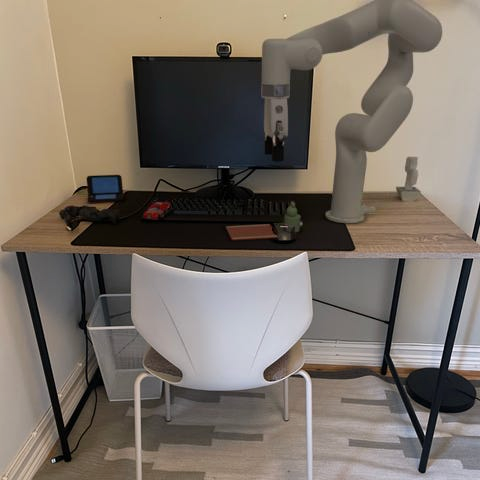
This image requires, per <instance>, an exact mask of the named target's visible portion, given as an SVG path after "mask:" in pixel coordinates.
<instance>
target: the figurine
mask: <svg viewBox="0 0 480 480" xmlns="http://www.w3.org/2000/svg"><path fill="white" fill-rule="evenodd" d="M418 159H419V157H417V156H406V159H405V165H404V172H405V173H406V177H405V183H404V186H395V190H396V193H397V195H398V196H397V197H398V198H399V199H400V200H401V201H402V202H414V201H416V199H417V198H418V197H419V196H420V194H421V193H422V191H421V190H420V189H419V188H417V187H416V186H415V185H417V183H418V182H417V181H418V177H419V170H418V169H417V167H418Z"/></svg>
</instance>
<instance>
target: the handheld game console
mask: <svg viewBox="0 0 480 480" xmlns="http://www.w3.org/2000/svg"><path fill="white" fill-rule="evenodd" d="M86 188H87V203H89V204H99V203H117V202H123V201H125V200H124V199H125V198H124V197H125V196H124V189H123V177H122V175H120V174H103V175H102V174H101V175H100V174H99V175H97V174H95V175H87V176H86Z"/></svg>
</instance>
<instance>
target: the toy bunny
mask: <svg viewBox="0 0 480 480" xmlns="http://www.w3.org/2000/svg"><path fill="white" fill-rule="evenodd" d="M285 212H286V214H284V219H283V225H284V224H288V225H291V226H294V227H295V233H299V232H300V229H301V227H303V222H302V221H301V215H300V214H298V209H297V207H296V203H295V202H294V201H293V200H292V201H290V205H289V206H288V207H287V208H286V210H285Z"/></svg>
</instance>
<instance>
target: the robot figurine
mask: <svg viewBox="0 0 480 480" xmlns="http://www.w3.org/2000/svg"><path fill="white" fill-rule="evenodd" d="M58 215H59V217H60V218H61V219H64V222H65V224H66V225H68V226H69V227H72V225H71V222H72V219H73V218H74V219H75V218H77V217H80V218H81V219H83V220H86V221H90V222H100V221H102V220H103V219H109V220H110V221H111V223H112V224H113V225H117V222H120V221H121V220H122V216H121V215H122V214H121V211H120V210H119V209H111V208H104V209H101V210H100V209H99V208H97V207H96V206H90V205H84V204H83V205H81V206H75V205H67V206H65V207H64V209H60V211H59V212H58Z"/></svg>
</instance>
